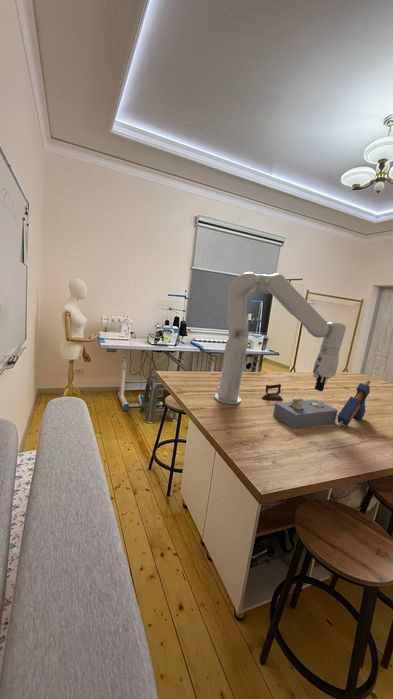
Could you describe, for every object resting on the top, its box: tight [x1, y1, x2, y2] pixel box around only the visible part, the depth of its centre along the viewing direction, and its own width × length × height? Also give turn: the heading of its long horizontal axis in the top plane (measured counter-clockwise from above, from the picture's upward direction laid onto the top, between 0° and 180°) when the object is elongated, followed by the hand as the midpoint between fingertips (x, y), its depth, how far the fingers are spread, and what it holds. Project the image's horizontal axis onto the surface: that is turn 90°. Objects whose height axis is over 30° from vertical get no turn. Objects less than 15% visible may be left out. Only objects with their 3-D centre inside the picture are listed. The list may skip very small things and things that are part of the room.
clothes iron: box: [261, 383, 284, 402], centre depth 147 cm, size 7×11×10 cm, turn 118°
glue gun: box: [337, 379, 371, 428], centre depth 133 cm, size 6×31×15 cm
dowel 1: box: [291, 396, 305, 411], centre depth 123 cm, size 4×4×5 cm
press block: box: [272, 399, 339, 430], centre depth 127 cm, size 12×26×6 cm, turn 118°
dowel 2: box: [312, 403, 322, 408], centre depth 130 cm, size 4×4×5 cm
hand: (318, 390), depth 128 cm, fingers closed
